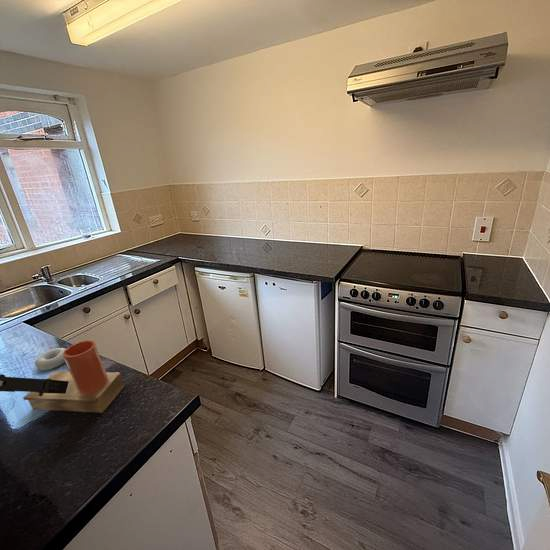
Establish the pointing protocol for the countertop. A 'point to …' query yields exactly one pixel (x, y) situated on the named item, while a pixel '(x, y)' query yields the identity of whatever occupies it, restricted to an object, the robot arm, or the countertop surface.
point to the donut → (50, 359)
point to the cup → (85, 366)
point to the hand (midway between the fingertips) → (40, 386)
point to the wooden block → (77, 395)
